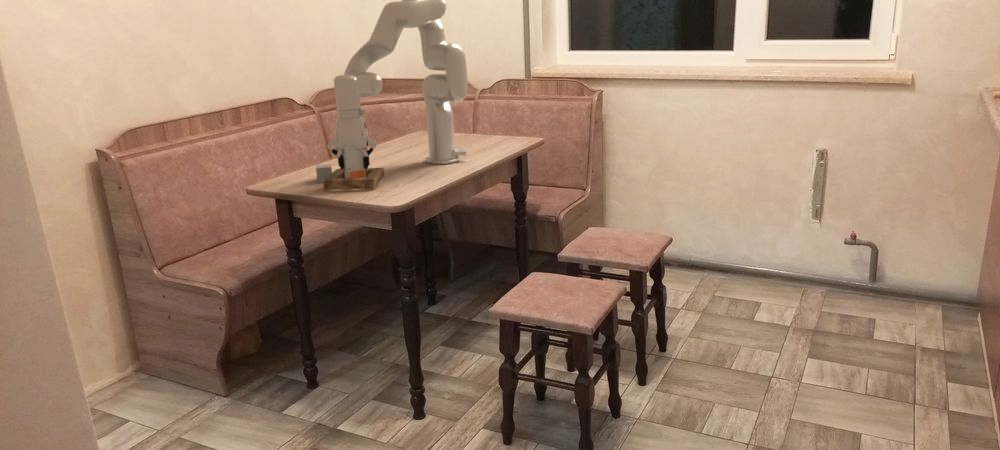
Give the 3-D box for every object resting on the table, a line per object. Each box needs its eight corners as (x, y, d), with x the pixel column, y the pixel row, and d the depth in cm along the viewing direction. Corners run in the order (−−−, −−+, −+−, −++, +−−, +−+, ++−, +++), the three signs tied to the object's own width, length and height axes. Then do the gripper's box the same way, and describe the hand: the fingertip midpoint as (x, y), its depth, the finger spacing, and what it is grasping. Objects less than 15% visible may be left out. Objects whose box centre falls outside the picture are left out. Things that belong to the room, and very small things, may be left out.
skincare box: (348, 183, 247) (345, 147, 243) (345, 181, 251) (341, 145, 247) (366, 180, 250) (363, 144, 246) (362, 178, 253) (359, 142, 250)
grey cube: (332, 178, 260) (331, 164, 259) (332, 181, 256) (331, 167, 254) (317, 179, 259) (316, 165, 258) (317, 182, 255) (315, 168, 253)
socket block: (384, 177, 258) (383, 167, 257) (374, 190, 242) (373, 179, 241) (337, 178, 259) (336, 168, 258) (324, 191, 243) (323, 180, 242)
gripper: (378, 111, 247) (383, 165, 252) (325, 113, 248) (331, 166, 253) (373, 115, 240) (378, 170, 245) (319, 117, 241) (325, 171, 246)
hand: (354, 168), depth 249 cm, fingers open, 7 cm apart
